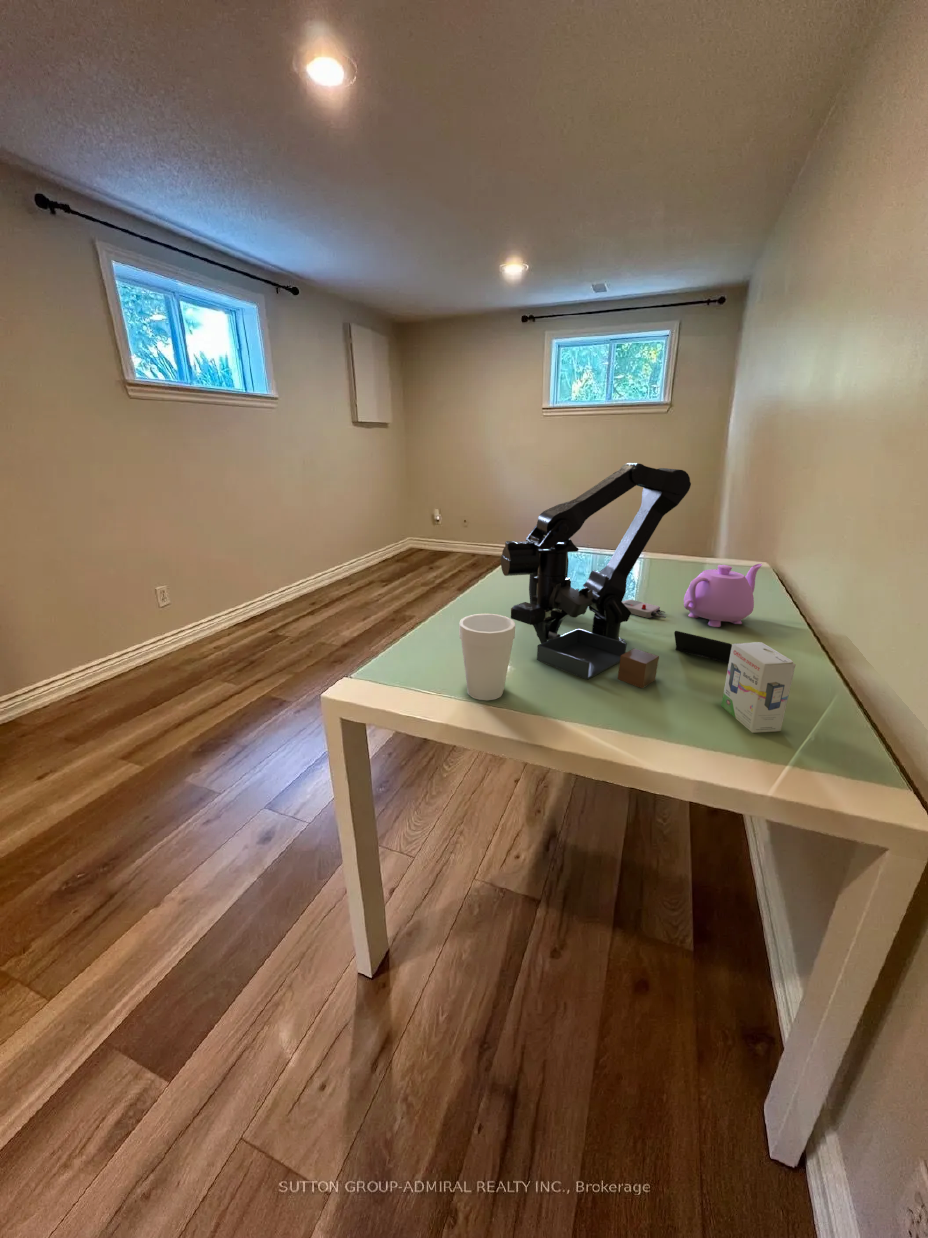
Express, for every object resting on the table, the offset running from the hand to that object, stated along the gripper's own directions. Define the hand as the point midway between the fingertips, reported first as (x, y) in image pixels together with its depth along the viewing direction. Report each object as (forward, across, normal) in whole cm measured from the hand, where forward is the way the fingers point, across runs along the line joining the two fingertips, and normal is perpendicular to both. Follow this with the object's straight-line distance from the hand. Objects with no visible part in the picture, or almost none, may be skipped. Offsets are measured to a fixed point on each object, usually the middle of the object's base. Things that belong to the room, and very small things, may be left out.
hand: (547, 643), depth 105 cm
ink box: (+1, +1, -40) cm, 40 cm away
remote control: (+1, +37, -2) cm, 37 cm away
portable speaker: (+1, +18, +14) cm, 23 cm away
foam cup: (+1, -24, -5) cm, 25 cm away
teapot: (+1, +47, -18) cm, 50 cm away
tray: (+1, 0, -6) cm, 6 cm away
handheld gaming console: (+1, +21, -25) cm, 33 cm away
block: (-4, 0, -21) cm, 21 cm away
